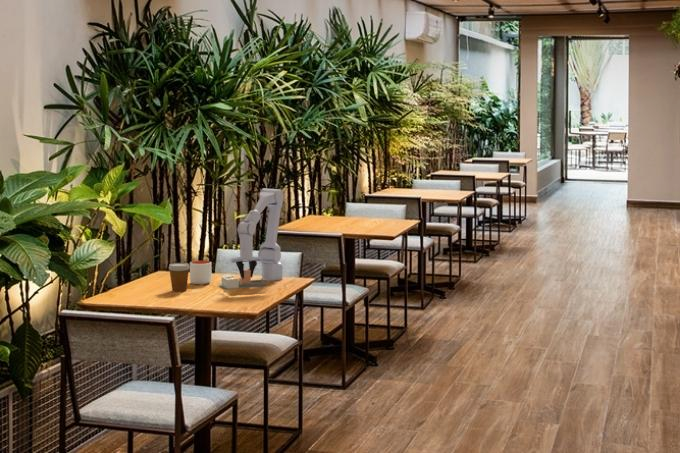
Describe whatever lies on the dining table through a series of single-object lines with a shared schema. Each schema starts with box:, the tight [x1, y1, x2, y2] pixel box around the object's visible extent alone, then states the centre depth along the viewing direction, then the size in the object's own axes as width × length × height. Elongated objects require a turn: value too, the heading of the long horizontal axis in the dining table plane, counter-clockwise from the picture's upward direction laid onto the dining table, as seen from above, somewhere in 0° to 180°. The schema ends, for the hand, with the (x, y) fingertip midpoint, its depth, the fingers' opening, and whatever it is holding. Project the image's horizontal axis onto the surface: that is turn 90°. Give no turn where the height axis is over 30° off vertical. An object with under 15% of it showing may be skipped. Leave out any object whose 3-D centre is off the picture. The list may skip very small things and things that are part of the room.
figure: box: [238, 268, 252, 286], centre depth 466 cm, size 4×5×7 cm
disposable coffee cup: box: [168, 262, 190, 293], centre depth 457 cm, size 10×10×12 cm
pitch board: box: [217, 275, 269, 290], centre depth 468 cm, size 21×14×5 cm, turn 113°
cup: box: [189, 260, 212, 285], centre depth 476 cm, size 10×10×10 cm
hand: (246, 277), depth 466 cm, fingers open, 4 cm apart
